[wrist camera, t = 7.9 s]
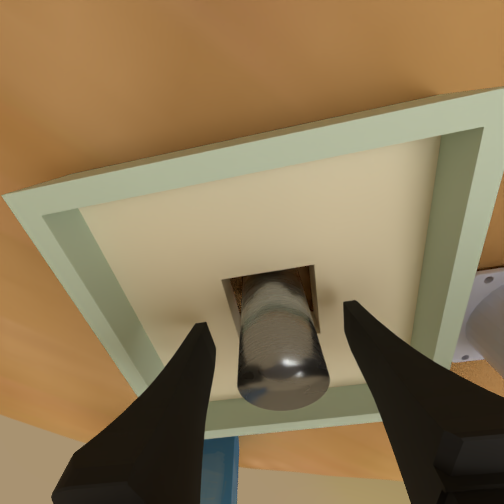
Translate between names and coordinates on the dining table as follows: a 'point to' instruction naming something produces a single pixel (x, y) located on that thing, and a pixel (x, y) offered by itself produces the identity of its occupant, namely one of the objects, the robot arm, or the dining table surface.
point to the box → (282, 242)
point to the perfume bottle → (220, 471)
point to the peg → (279, 344)
